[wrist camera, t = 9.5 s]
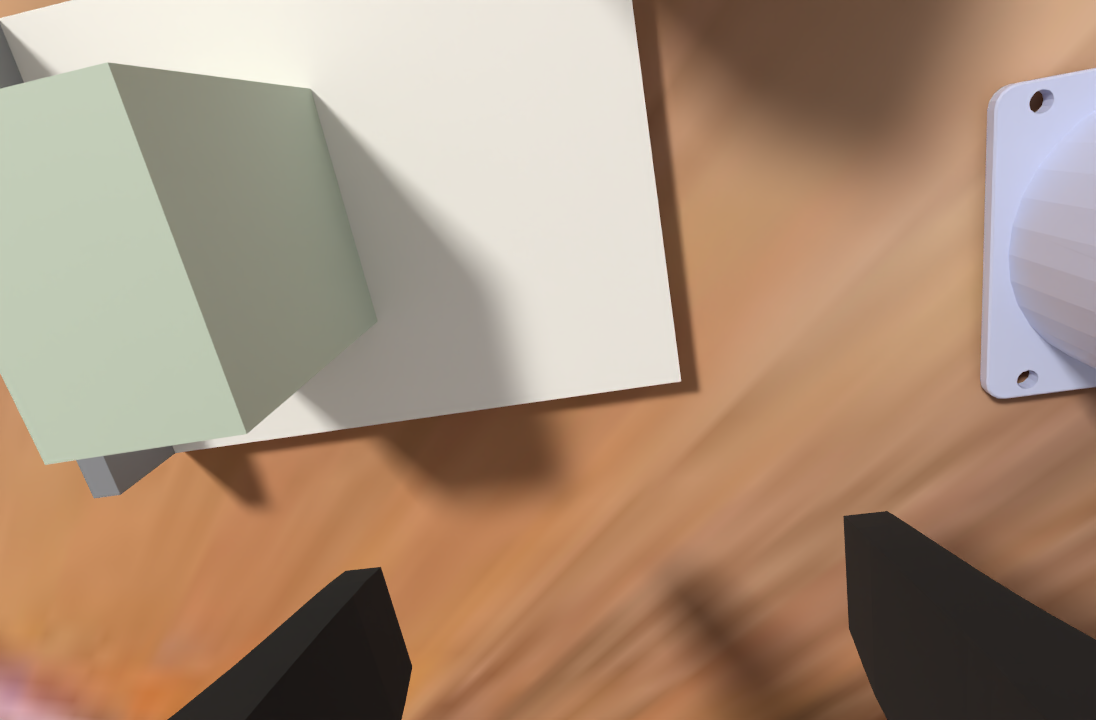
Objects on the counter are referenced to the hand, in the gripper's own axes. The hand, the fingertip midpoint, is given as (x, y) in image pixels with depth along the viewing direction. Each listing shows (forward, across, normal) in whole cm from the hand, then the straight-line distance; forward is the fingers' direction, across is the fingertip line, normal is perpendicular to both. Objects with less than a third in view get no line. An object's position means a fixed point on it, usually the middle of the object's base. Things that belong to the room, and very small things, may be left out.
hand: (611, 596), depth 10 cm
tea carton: (+8, +8, -6) cm, 13 cm away
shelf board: (+9, +6, -6) cm, 13 cm away
